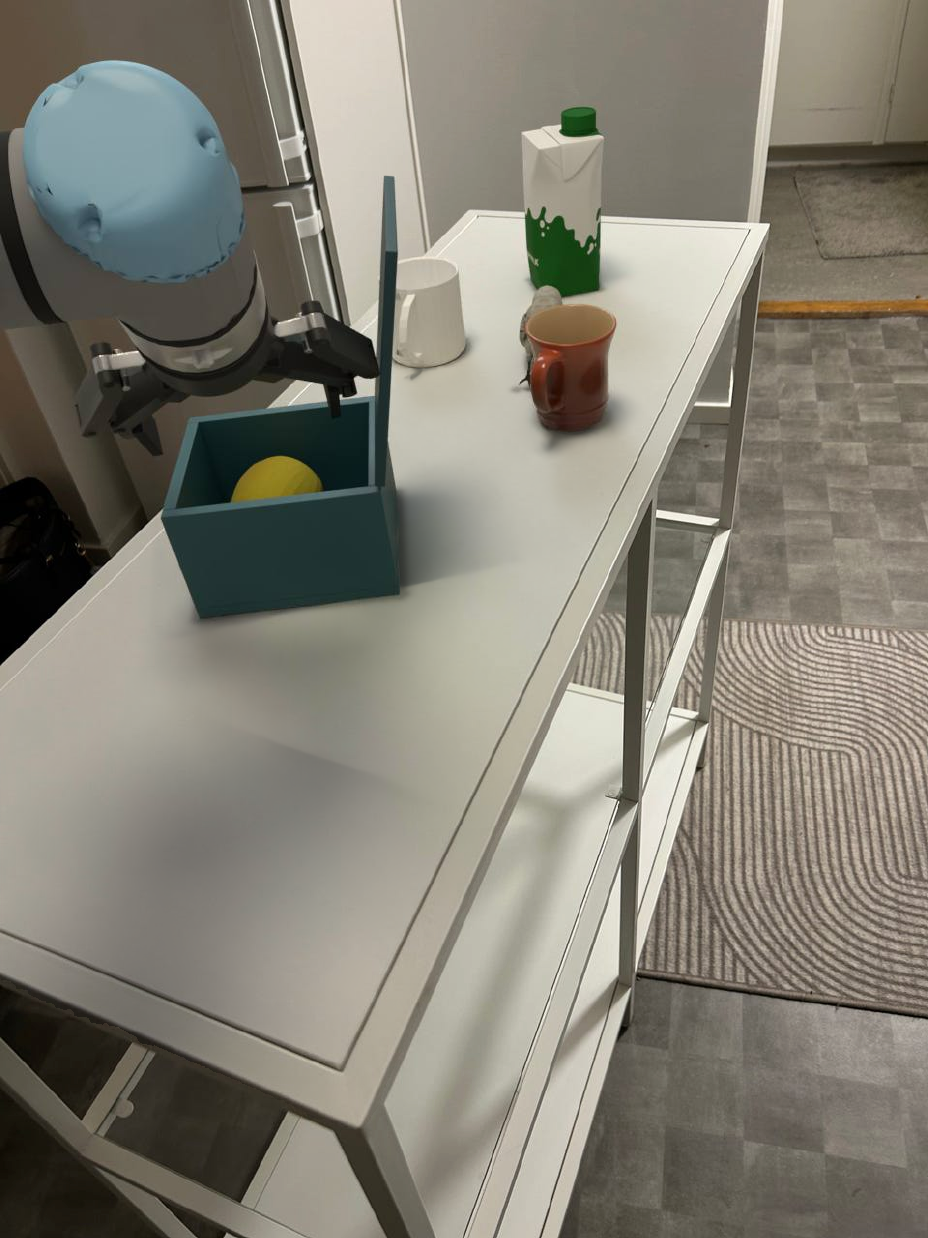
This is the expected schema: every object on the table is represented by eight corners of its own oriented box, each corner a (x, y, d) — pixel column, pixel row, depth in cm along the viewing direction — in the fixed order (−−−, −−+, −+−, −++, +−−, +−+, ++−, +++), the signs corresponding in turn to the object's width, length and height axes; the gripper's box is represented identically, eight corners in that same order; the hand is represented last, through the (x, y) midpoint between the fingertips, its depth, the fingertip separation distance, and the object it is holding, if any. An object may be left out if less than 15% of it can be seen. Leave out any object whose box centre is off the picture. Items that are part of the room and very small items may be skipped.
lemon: (279, 503, 87) (258, 430, 82) (352, 516, 85) (336, 441, 79) (216, 575, 80) (189, 500, 75) (294, 591, 78) (272, 514, 72)
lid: (385, 250, 58) (398, 251, 58) (383, 174, 69) (394, 175, 69) (374, 486, 70) (385, 487, 70) (374, 389, 81) (384, 390, 81)
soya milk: (608, 291, 117) (611, 117, 103) (540, 304, 116) (533, 130, 102) (586, 265, 123) (585, 99, 110) (520, 278, 122) (512, 111, 109)
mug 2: (552, 389, 100) (549, 298, 93) (627, 404, 96) (630, 310, 89) (499, 446, 93) (492, 352, 86) (579, 464, 89) (578, 367, 82)
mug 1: (412, 328, 114) (401, 253, 108) (478, 337, 111) (471, 259, 105) (364, 374, 107) (350, 296, 100) (433, 385, 103) (423, 305, 97)
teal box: (199, 618, 78) (160, 517, 71) (221, 513, 89) (189, 417, 82) (399, 595, 77) (380, 491, 70) (396, 492, 89) (380, 394, 81)
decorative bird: (571, 324, 111) (570, 263, 106) (566, 392, 99) (565, 327, 94) (526, 326, 112) (523, 265, 107) (516, 393, 100) (512, 329, 95)
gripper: (-31, 425, 47) (88, 502, 69) (438, 330, 51) (415, 432, 72) (-63, 285, 48) (66, 405, 69) (406, 199, 51) (392, 339, 72)
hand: (244, 419), depth 70 cm, fingers open, 13 cm apart
